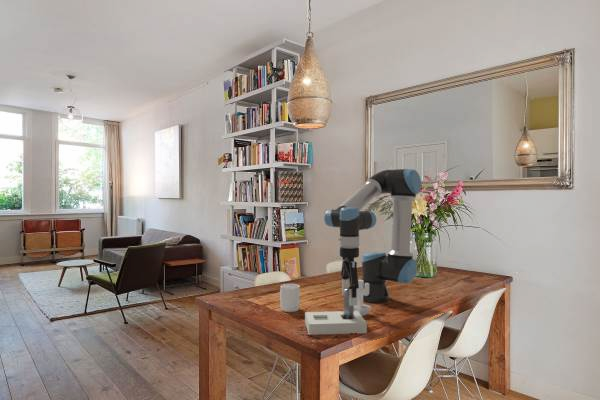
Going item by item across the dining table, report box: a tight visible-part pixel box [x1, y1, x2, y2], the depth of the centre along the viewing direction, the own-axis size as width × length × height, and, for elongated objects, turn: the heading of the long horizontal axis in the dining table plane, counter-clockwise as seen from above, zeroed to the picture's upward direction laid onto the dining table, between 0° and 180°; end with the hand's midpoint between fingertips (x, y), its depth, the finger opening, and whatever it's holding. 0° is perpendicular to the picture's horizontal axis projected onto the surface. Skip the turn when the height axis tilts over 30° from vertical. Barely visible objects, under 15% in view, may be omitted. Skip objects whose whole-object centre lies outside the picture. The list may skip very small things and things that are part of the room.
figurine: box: [354, 279, 372, 317], centre depth 164 cm, size 7×9×15 cm
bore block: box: [304, 310, 368, 336], centre depth 147 cm, size 22×14×4 cm, turn 95°
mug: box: [279, 283, 301, 313], centre depth 171 cm, size 9×12×11 cm
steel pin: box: [343, 288, 354, 319], centre depth 148 cm, size 4×4×14 cm
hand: (349, 300), depth 148 cm, fingers open, 13 cm apart
